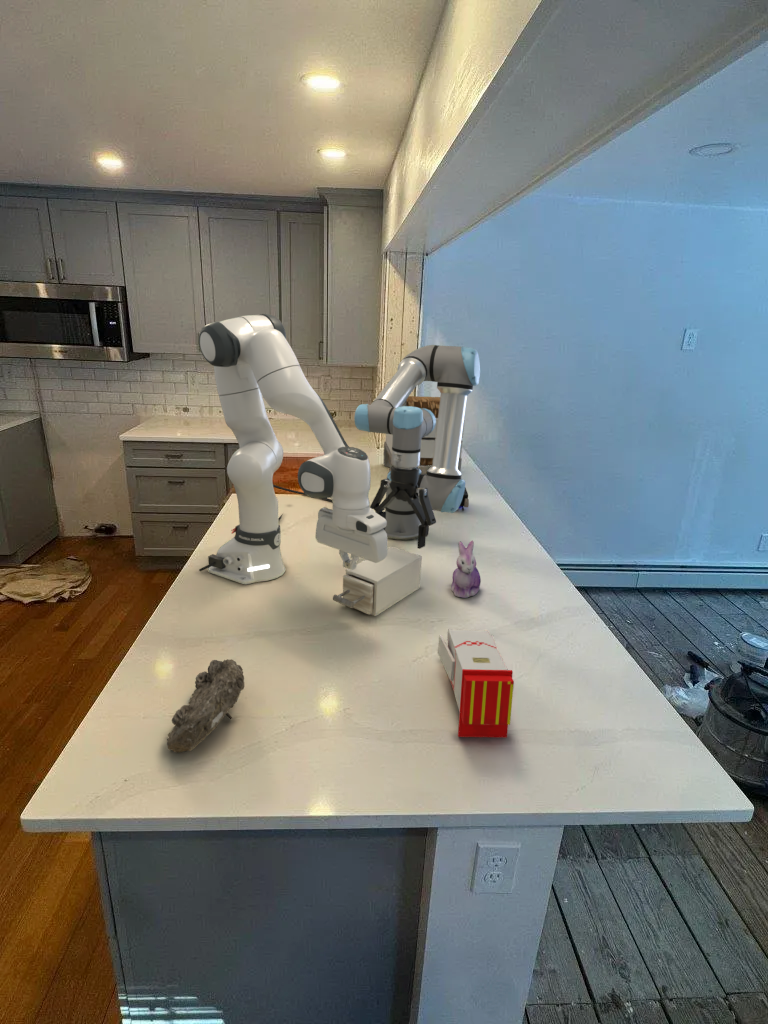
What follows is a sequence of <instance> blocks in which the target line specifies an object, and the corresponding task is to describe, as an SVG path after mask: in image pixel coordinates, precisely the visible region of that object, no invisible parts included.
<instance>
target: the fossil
mask: <svg viewBox="0 0 768 1024" xmlns="http://www.w3.org/2000/svg"><path fill="white" fill-rule="evenodd" d="M243 670H244V669H243V667H242V665H240V664H237V662H236V661H235V660H234V659H232V658H231V659H227V658H226V659H224V660H223V661H222V660H217V659H212V660H211V661H210V663H209V665H208V666H207V671H201V672H199V673H198V674H197V675H196V676H195V680H194V684H195V685H194V687H195V689H194V690H193V693H192V694H191V697H190V698H189V700H188V704H184V705H182V706H181V707H180V709H177V710H176V711H175V713H174V715H173V716H172V718H171V723H172V724H173V727H172V730H171V731H170V732H168V734H167V738H166V741H167V742H166V745H167V749H168V750H169V751H173V752H174V753H176V754H178V753H182V752H188V751H189V752H192V751H193V750H195V748H196V747H197V746H199V744H200V743H201V742H203V741H204V740H205V739H206V738H207V737H208V736H209V735H210V734H211V733H212V732H214V730H215V729H217V727H218V726H219V724H220V722H221V721H222V720H223V719H224V718H225V716H226V717H227V719H229V720H233V717H232V715H230V714H229V710H230V709H231V708H234V706H235V704H236V703H237V702H238V699H239V697H240V695H241V693H242V691H243V690H245V689H244V688H245V675H244V671H243Z"/></svg>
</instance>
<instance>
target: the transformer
mask: <svg viewBox="0 0 768 1024" xmlns="http://www.w3.org/2000/svg"><path fill="white" fill-rule="evenodd" d="M439 405H440V396H415V395H414V396H413V395H412V396H411V395H409V397H408V398H407V399H406V401H405V402H404V404H403V405H402V406H412V407H418V408H421V409H422V408H424V409H428V410H430V411H431V412H432V413H433V414H434V416H435V419H436V425H435V428H434V430H433V431H432V432H431V433H430V434H429V435H428V436H425V437H423V438H421V449H420V465H419V466H418V467H431V466H432V463H433V455H434V446H435V438H436V430H437V421H438V413H439ZM402 406H401V407H402ZM464 429H465V419H464V423H463V431H462V438H461V446H460V454H459V462H458V470H459V471H460V473H461V472H462V461H463V460H462V453H463V442H464V441H463V440H462V439H463V438H464V431H465V430H464ZM392 439H393V435H392V434H385V438H384V442H383V466H384V467H388V468H389V472H390V471H391V467H392V466H393V465H392V464H391V459H392ZM461 474H462V473H461Z"/></svg>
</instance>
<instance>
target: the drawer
mask: <svg viewBox="0 0 768 1024" xmlns="http://www.w3.org/2000/svg"><path fill="white" fill-rule="evenodd" d="M332 601H333V602H336V603H338V604H341V605H343V606H345V607H348V608H351V609H355V610H357V611H360V612H362V613H364V614H366V615H369V616H371V615H372V612H373V605H374V583H372V582H369V581H367V580H364V579H361V578H359V577H356V576H354V575H352V577H351V576H349V575H346V574H344V575H343V576H342V592H341V593H339V594H334V595H333V596H332Z"/></svg>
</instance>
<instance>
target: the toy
mask: <svg viewBox="0 0 768 1024" xmlns="http://www.w3.org/2000/svg"><path fill="white" fill-rule="evenodd" d="M446 640H447V643H446V641H445V639H444V636H443V635H442V634H439V637H438V646H437V656H438V657H439V659H440V661H441V663H442V666H443V668H444V670H445V672H446V674H447V677H448V679H449V681H450V684H451V687H452V690H453V693H454V697H455V701H456V705H457V708H458V711H459V714H458V715H459V716H458V730H457V731H458V732H457V737H458V738H508V731H509V726H510V725H511V717H512V707H513V697H514V696H513V695H514V684H515V680H514V679H513V673H514V671H513V670H512V669H508V667H507V665H506V662H505V661H504V659H503V658H502V655H501V653H500V651H499V649H498V647H497V643H496V639H495V637H494V635H493V634H491V632H490V631H489V629H467V628H466V629H465V628H463V629H461V628H460V629H459V628H448V630H447V639H446Z"/></svg>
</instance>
